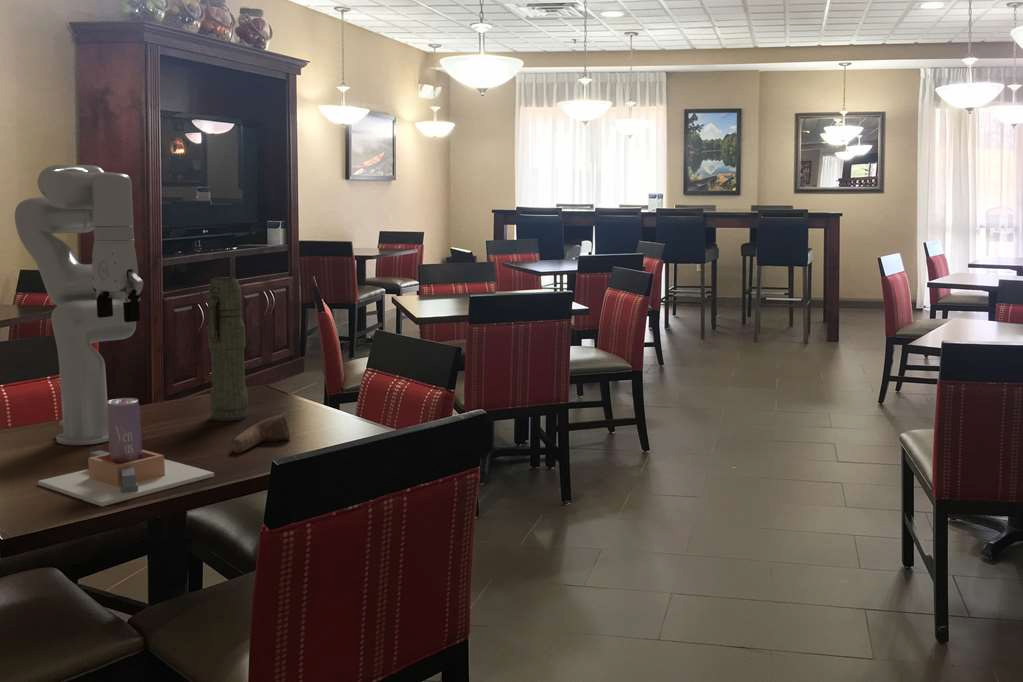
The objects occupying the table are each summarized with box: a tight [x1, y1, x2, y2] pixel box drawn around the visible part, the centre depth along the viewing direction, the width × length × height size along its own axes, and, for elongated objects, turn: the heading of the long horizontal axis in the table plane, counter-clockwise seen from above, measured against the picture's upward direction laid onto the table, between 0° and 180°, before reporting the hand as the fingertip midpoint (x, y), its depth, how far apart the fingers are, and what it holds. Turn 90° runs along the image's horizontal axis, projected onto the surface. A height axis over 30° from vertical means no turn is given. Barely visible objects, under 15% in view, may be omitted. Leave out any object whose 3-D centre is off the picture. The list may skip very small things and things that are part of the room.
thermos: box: [207, 276, 249, 422], centre depth 247 cm, size 9×12×35 cm
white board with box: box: [37, 449, 215, 507], centre depth 194 cm, size 22×24×5 cm
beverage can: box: [106, 397, 143, 464], centre depth 193 cm, size 6×6×15 cm
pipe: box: [230, 412, 291, 454], centre depth 222 cm, size 6×17×10 cm
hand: (118, 319), depth 204 cm, fingers open, 9 cm apart
